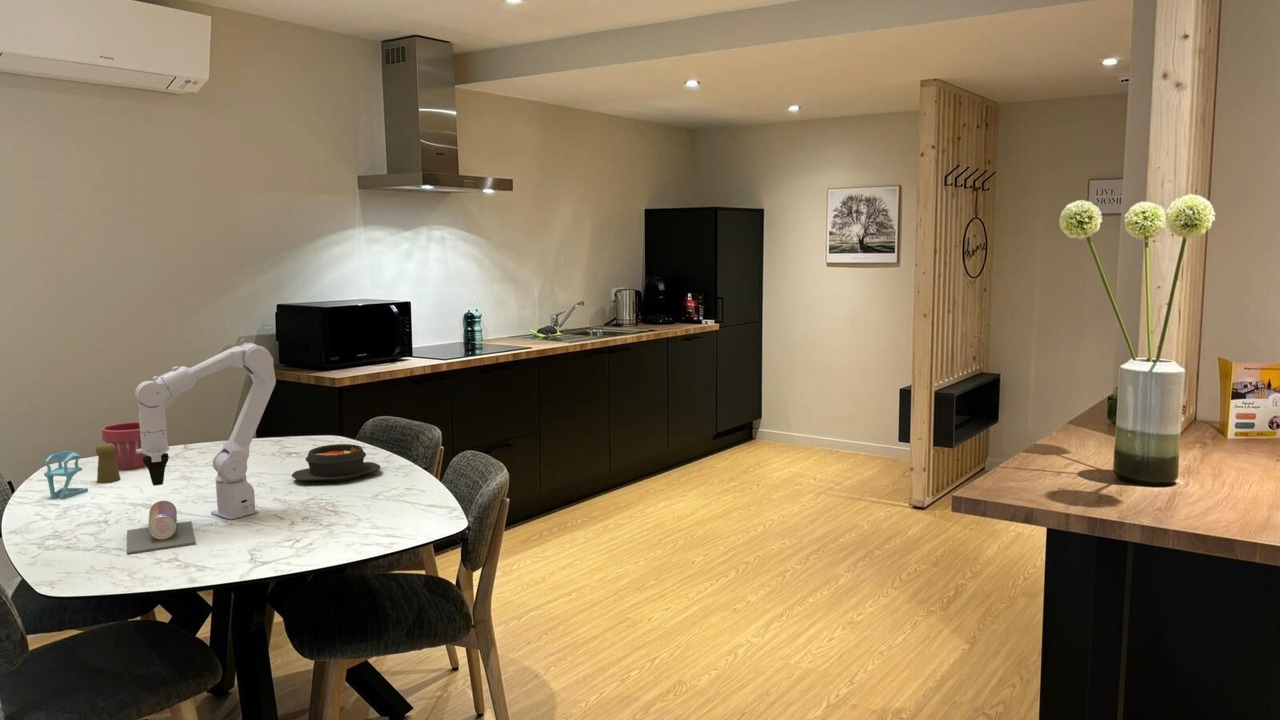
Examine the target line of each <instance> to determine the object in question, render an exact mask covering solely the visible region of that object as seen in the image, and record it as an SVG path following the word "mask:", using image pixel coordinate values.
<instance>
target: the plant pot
mask: <svg viewBox="0 0 1280 720" xmlns="http://www.w3.org/2000/svg"><path fill="white" fill-rule="evenodd" d="M101 439H102V441H103V442H105V443H112V444H114V445H115V446H116V453H115V459H116V463H117V467H118V471H119V470H121V471H123V470H124V471H128V470H136V469H141V468H144V467H147V466H146V465H145V463H144V462H143V457H145V456H148V455H145V454H142V453H137V452H136V450H137V449H142V447H141V436H140V425H139V421H128V422H127V421H126V422H120V423H119V422H118V423H114V424H109V425H105V426H103V427H102V428H101Z"/></svg>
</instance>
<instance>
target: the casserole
mask: <svg viewBox="0 0 1280 720" xmlns="http://www.w3.org/2000/svg"><path fill="white" fill-rule="evenodd" d="M365 457H367V453H366V452H365V451H364V449H363V447H362V446H360V445H357V444H351V443H348V444H347V443H340V444H339V443H337V444H335V443H334V444H328V445H323V446H317V447H315V448H312V449H310V450H309V451H308V453H307V457H305V461H306V463H307V464H308V468H303V469H300V470H295V471H294V472H293V473H292V474H291V477H292V478H293V479H294V480H298V481H303V482H304V481H307V482H309V481H320V482H325V483H326V482H327V483H328V482H329V483H336V482H345V481H348V480H352V479H355V478H357V477H359V476H362V475H365V474H371V473H374V472H377V471H380V469H381V465H380V464H378V463H377V462H376V463H375V462H372V461H364V459H365Z"/></svg>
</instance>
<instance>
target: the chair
mask: <svg viewBox="0 0 1280 720" xmlns="http://www.w3.org/2000/svg"><path fill="white" fill-rule="evenodd" d="M53 459H56V460H57V462H58V463H57V464H58V465H57V466H58V467H56V468H54V469H52V467H51V465H50V462H51V461H52V460H53ZM62 459H64V460H63V462H62ZM73 459H74V467H69V466H68V463H69V462H70V461H71V460H73ZM79 459H80V454H78V453H76V452H74V451H70V450H64V451H61V452H56V453H53V454H50V455H49V456H47V458H46V460H44V463H45V466H46V468H47V471H45V472H44V473H43V475H44V476H43V477H46V480H47V482H48V483H47V484H48V488H49V494H50V500H55V499H57V498H58V497H59V500H64V499H67V498H71V497H73V496H76V495H80V494H83V493H84V494H85V493H87V492H88V491H89V488H88V487H69V485H70V483H71V481H72V479H73V477H74V476H75V475H76V474H78V472H81V471H83V467H82V466H79ZM62 463H63V464H62ZM54 477H66V480H65V482H64V485H63V487H60V488H58V489H57V490H55V484H54ZM66 492H67V493H66Z"/></svg>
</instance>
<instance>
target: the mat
mask: <svg viewBox="0 0 1280 720" xmlns="http://www.w3.org/2000/svg"><path fill="white" fill-rule="evenodd" d="M196 544H197V543H196V536H195V532H194V528H193V523H192V520H191V521H184V522H177V529H176V531H175V533H174V534H173V535H172V536H171V537H169V538H167V539H162V540H161V539H156V538H154V537H153V536H152V535H151V534H150V533H149V530H148V526H146V527H140V528H133V529H127V530H126V555H133V554H140V553H147V552H152V551H153V552H155V551H159V550H166V549H172V548H173V549H174V548H179V547H185V546H186V547H187V546H192V545H194V546H195V545H196Z"/></svg>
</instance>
